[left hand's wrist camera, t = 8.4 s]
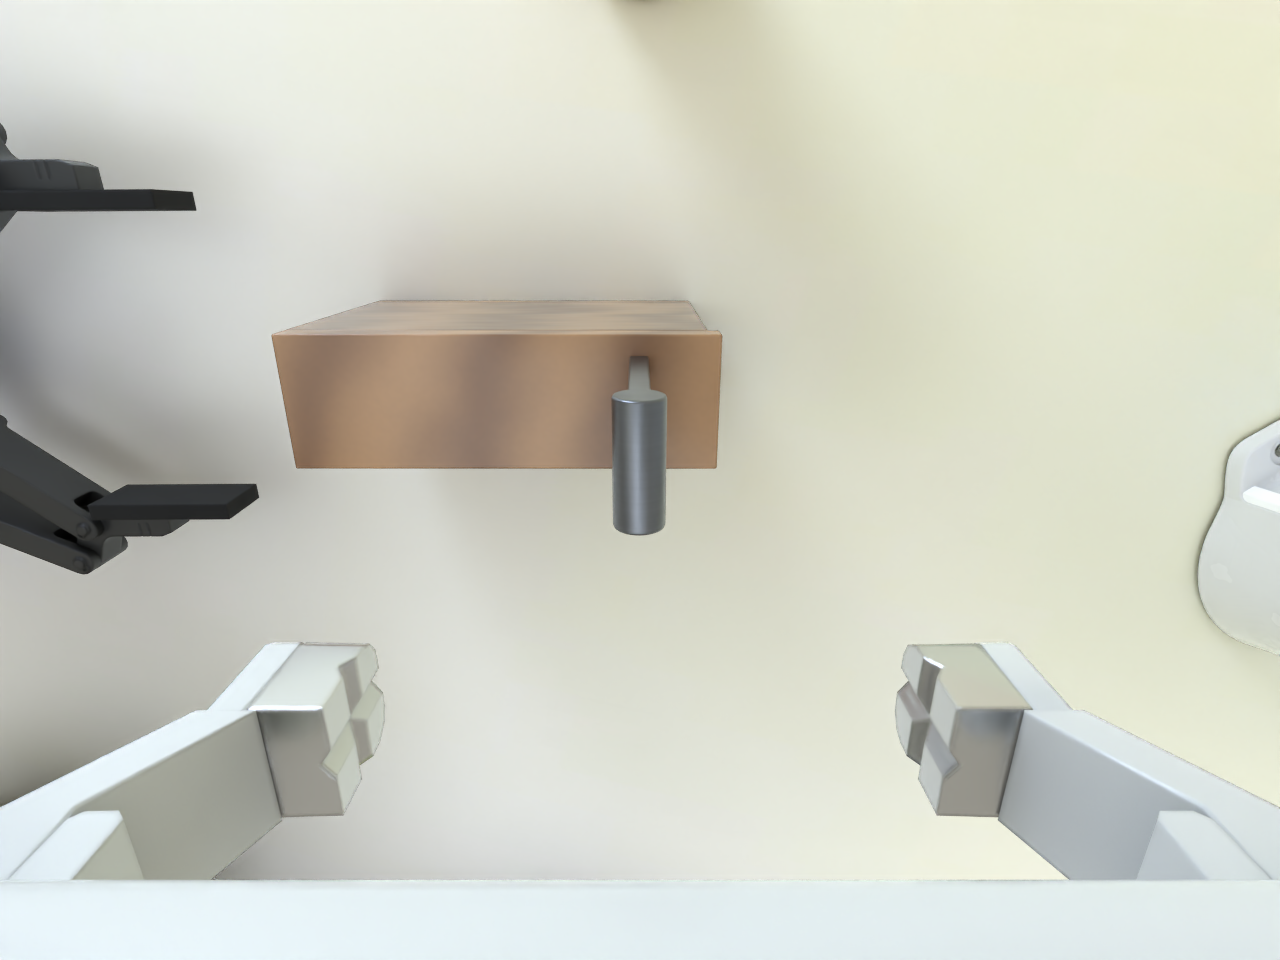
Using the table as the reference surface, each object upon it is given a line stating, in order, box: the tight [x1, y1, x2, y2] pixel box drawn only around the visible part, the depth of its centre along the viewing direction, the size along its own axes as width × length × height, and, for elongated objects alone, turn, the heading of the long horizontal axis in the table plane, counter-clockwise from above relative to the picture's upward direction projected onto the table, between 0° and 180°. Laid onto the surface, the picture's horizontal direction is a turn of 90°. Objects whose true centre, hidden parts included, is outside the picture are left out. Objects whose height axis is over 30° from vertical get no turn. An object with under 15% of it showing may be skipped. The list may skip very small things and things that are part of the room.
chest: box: [287, 301, 707, 331], centre depth 32 cm, size 16×5×10 cm, turn 90°
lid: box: [272, 330, 722, 535], centre depth 23 cm, size 17×5×9 cm, turn 90°
